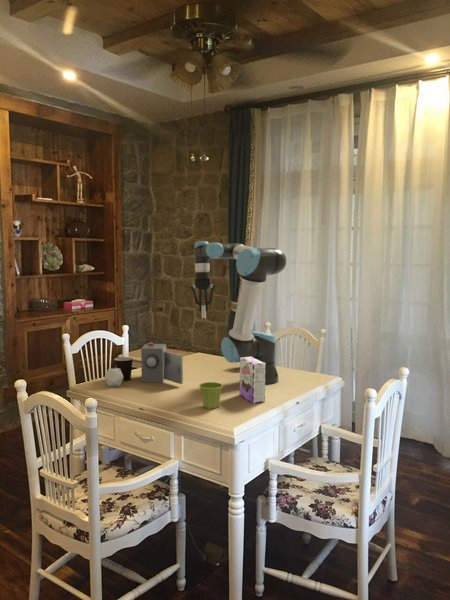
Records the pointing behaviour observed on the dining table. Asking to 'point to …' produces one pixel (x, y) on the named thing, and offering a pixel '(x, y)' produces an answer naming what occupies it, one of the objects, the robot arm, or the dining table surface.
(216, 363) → the dining table surface
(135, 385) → the dining table surface
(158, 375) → the grey inset panel box
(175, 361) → the side door
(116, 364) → the coffee mug
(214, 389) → the plant pot
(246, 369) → the candy box
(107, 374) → the die
